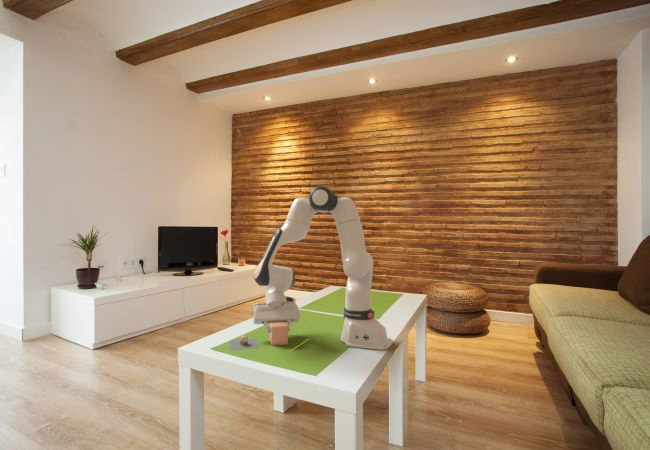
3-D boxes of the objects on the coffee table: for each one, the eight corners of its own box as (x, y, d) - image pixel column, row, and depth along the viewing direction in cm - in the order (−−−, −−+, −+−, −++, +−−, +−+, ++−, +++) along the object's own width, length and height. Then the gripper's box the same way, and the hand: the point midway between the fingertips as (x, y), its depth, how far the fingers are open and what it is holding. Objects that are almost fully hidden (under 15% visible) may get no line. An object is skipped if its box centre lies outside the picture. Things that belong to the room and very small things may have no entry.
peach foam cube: (284, 339, 152) (285, 321, 152) (287, 345, 146) (288, 326, 146) (269, 340, 151) (269, 322, 150) (271, 346, 144) (271, 327, 144)
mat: (256, 339, 151) (256, 338, 151) (258, 349, 141) (258, 347, 141) (229, 341, 148) (229, 340, 148) (230, 351, 138) (230, 349, 138)
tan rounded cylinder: (249, 343, 145) (249, 336, 145) (244, 345, 142) (244, 338, 142) (243, 342, 146) (243, 335, 146) (238, 344, 144) (238, 337, 144)
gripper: (252, 300, 153) (254, 329, 144) (298, 298, 159) (302, 326, 150) (251, 307, 157) (252, 336, 148) (296, 305, 163) (300, 333, 154)
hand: (278, 331), depth 149 cm, fingers closed on peach foam cube, 7 cm apart
